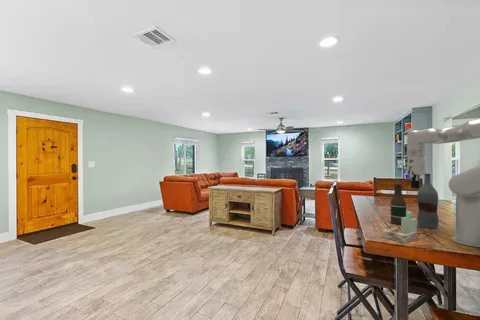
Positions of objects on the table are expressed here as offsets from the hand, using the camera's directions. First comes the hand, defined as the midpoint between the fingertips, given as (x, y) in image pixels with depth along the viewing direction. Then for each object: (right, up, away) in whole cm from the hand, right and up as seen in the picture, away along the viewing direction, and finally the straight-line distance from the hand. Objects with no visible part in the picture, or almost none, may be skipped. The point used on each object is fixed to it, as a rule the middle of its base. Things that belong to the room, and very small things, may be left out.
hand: (415, 187), depth 123 cm
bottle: (-7, -23, -5) cm, 24 cm away
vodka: (+13, -23, +7) cm, 27 cm away
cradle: (-15, -23, -10) cm, 30 cm away
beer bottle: (+1, -23, +14) cm, 27 cm away
